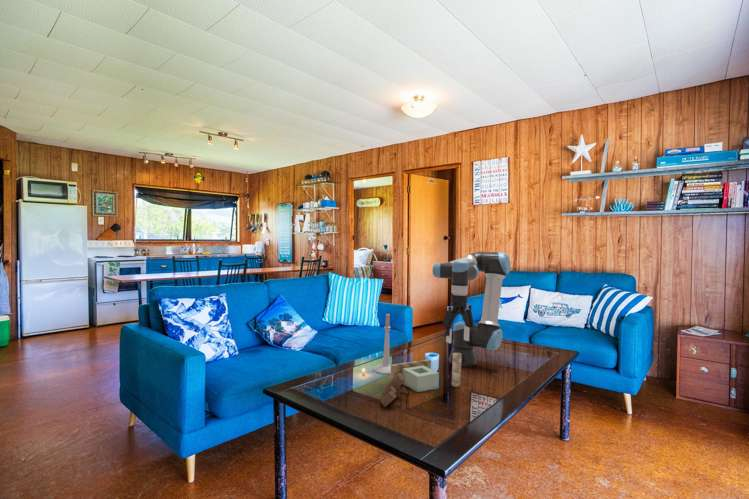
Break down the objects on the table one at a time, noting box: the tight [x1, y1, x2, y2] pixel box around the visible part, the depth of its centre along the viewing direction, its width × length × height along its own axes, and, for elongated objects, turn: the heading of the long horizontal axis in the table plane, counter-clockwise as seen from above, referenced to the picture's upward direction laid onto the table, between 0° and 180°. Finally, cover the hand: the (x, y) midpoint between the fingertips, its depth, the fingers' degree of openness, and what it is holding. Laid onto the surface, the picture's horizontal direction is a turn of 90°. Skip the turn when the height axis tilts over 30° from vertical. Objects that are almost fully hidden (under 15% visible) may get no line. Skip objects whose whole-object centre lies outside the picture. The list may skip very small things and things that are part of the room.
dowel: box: [451, 353, 462, 388], centre depth 183 cm, size 4×4×16 cm
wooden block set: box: [380, 373, 409, 408], centre depth 167 cm, size 18×9×10 cm
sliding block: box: [401, 365, 440, 393], centre depth 181 cm, size 12×12×7 cm
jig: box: [389, 358, 432, 382], centre depth 179 cm, size 22×21×10 cm
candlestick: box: [373, 313, 392, 375], centre depth 205 cm, size 13×13×30 cm
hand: (457, 341), depth 183 cm, fingers open, 10 cm apart
